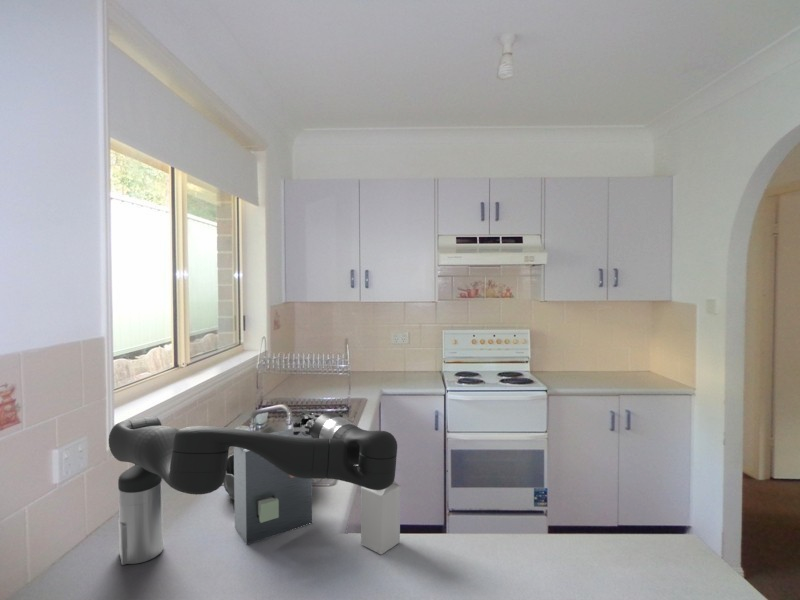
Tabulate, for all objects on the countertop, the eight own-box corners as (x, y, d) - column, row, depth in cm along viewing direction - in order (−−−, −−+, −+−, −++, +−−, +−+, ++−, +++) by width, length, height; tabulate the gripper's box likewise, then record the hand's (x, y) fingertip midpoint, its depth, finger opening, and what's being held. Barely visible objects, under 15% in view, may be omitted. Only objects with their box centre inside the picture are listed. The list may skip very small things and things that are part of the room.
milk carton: (379, 533, 125) (379, 462, 124) (400, 542, 121) (400, 470, 120) (360, 544, 120) (360, 471, 119) (381, 555, 115) (382, 479, 114)
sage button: (260, 522, 118) (260, 504, 118) (249, 507, 126) (248, 491, 125) (278, 517, 121) (278, 499, 121) (266, 503, 128) (265, 486, 128)
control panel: (246, 544, 120) (245, 451, 118) (234, 527, 128) (233, 440, 126) (312, 523, 130) (311, 437, 129) (297, 508, 138) (296, 427, 137)
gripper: (362, 412, 105) (327, 395, 120) (307, 423, 98) (276, 403, 112) (362, 445, 106) (327, 424, 120) (307, 458, 98) (276, 435, 112)
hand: (302, 414), depth 116 cm, fingers closed
